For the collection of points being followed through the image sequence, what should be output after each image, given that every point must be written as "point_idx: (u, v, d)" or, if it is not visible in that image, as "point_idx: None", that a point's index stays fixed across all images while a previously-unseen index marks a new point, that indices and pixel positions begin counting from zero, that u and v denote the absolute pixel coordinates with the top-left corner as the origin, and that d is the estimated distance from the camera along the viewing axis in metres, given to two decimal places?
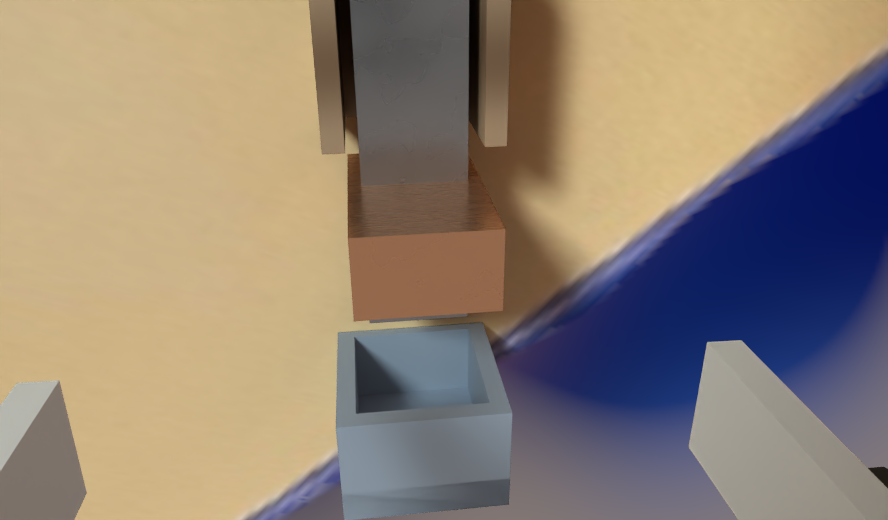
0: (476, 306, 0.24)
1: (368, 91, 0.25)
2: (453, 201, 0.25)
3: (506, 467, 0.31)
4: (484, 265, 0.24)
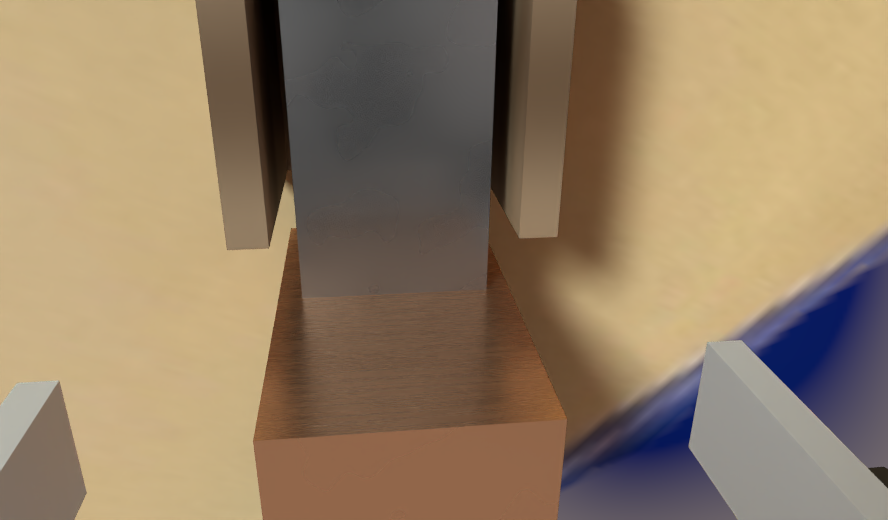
0: None
1: (313, 138, 0.14)
2: (463, 340, 0.14)
3: None
4: (523, 482, 0.12)
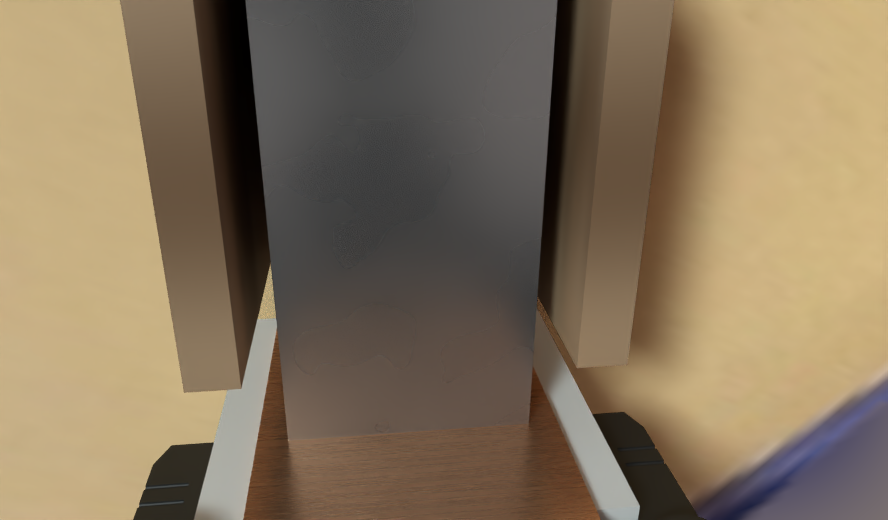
0: None
1: (300, 241, 0.10)
2: (505, 516, 0.10)
3: None
4: None
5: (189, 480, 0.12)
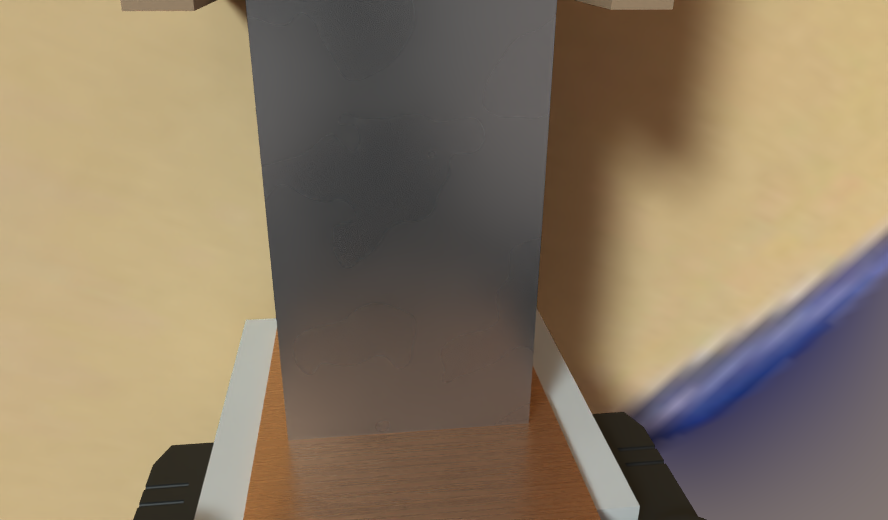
0: None
1: (300, 241, 0.10)
2: (505, 516, 0.10)
3: None
4: None
5: (189, 480, 0.12)
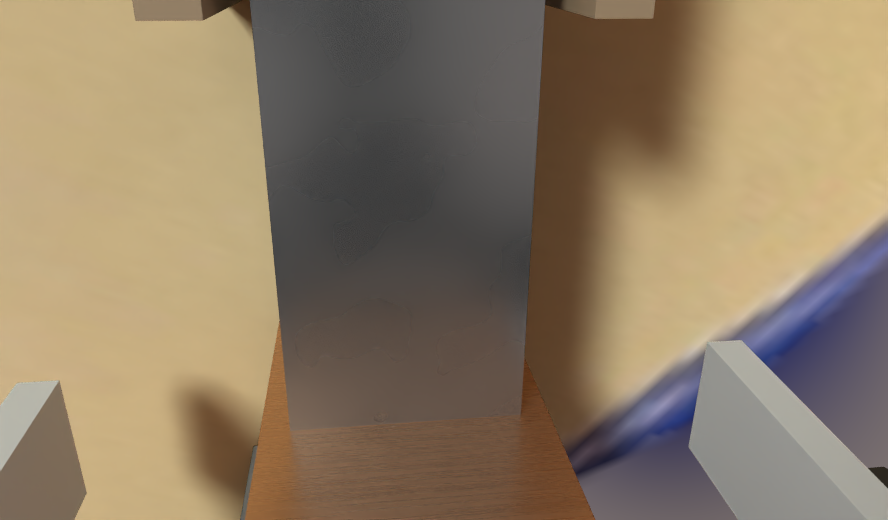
0: None
1: (302, 239, 0.11)
2: (497, 500, 0.11)
3: None
4: None
5: None
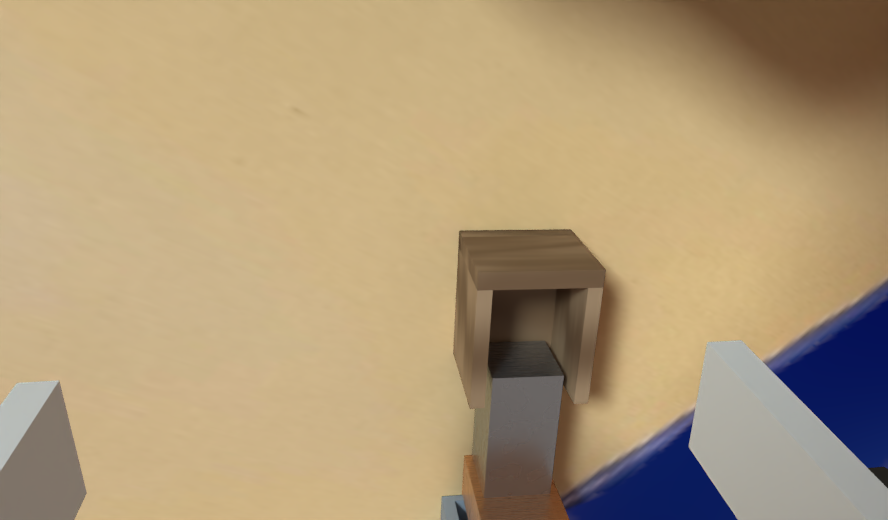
0: None
1: (495, 448, 0.41)
2: (545, 519, 0.41)
3: None
4: None
5: None
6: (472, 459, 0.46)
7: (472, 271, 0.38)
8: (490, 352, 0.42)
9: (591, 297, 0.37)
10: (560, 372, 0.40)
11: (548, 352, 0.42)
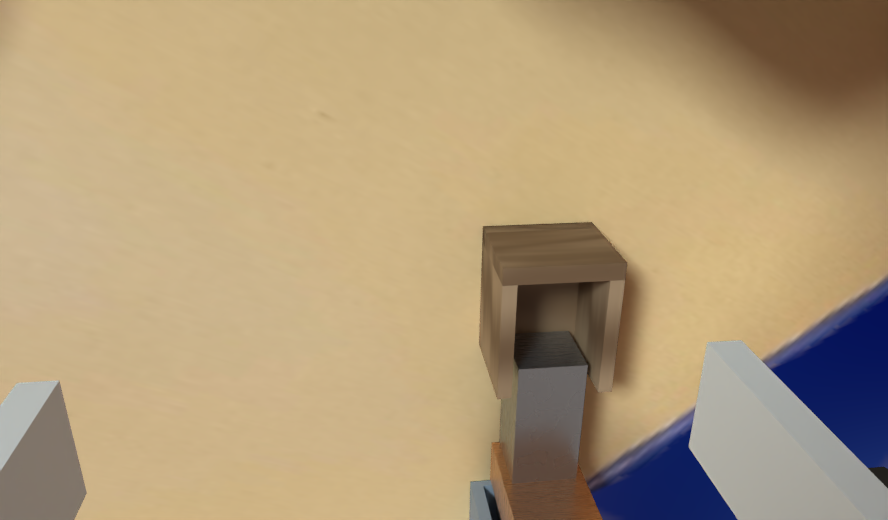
0: None
1: (522, 436, 0.42)
2: (572, 503, 0.42)
3: None
4: None
5: None
6: (499, 446, 0.47)
7: (497, 267, 0.39)
8: (515, 343, 0.43)
9: (613, 289, 0.38)
10: (584, 362, 0.41)
11: (571, 342, 0.43)
